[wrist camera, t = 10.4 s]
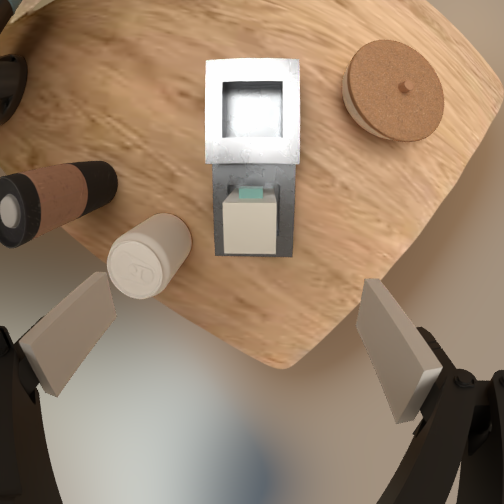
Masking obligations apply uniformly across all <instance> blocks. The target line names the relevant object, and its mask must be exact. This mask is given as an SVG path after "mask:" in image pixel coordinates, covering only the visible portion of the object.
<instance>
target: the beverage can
mask: <svg viewBox="0 0 504 504" xmlns="http://www.w3.org/2000/svg"><path fill="white" fill-rule="evenodd" d="M191 245H192V240H191V234H190V232H189V229H188V227H187V226H186V225H185V223H184V222H183V221H182V220H181V219H179V218H178V217H176V216H174V215H172V214H168V213H159V214H155V215H153V216H151V217H150V218H148V219H146V220H145V221H143V222H142V223H140V224H139V225H137V226H135V227H134V228H132V229H131V230H129V231H128V232H126V233H125V234H123V235H122V236H120V237H119V238H118V239H117V240H116V241H115V242H114V243H113V245H112V247H111V249H110V252H109V255H108V258H107V270H108V273H109V276H110V279H111V281H112V282H113V284H114V285H115V286H116V288H118V289H119V290H120V291H121V292H122V293H123V294H125V295H127V296H129V297H131V298H135V299H146V298H149V297H152V296H155V295H157V294H159V293H160V292H162V291H163V290H164V289H165V288H166V286H167V285H168V283H169V282H170V280H171V279H172V277H173V276H174V275H175V273H176V272H177V270H178V269H179V267H180V266H181V265H182V263H183V262H184V260H185V259H186V258H187V256H188V254H189V252H190V250H191Z"/></svg>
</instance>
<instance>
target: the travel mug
mask: <svg viewBox="0 0 504 504" xmlns="http://www.w3.org/2000/svg"><path fill="white" fill-rule="evenodd" d="M117 184H118V183H117V176H116V173H115V171H114V169H113V168H112V167H111V166H110V165H109V164H108V163H106V162H104V161H88V162H76V163H66V164H60V165H54V166H49V167H44V168H39V169H34V170H29V171H25V172H20V173H16V174H12V175H8V176H2V177H0V242H1V243H2V244H3V245H4V246H6V247H8V248H16V247H18V246H20V245H22V244H24V243H26V242H28V241H30V240H32V239H34V238H36V237H38V236H41V235H43V234H45V233H47V232H49V231H51V230H53V229H55V228H58V227H60V226H62V225H64V224H66V223H69V222H71V221H73V220H75V219H77V218H79V217H81V216H83V215H85V214H87V213H89V212H91V211H93V210H95V209H98V208H100V207H102V206H104V205H105V204H107V203H109V202H110V201H111V200H112V199H113V197H114V196H115V194H116V191H117Z"/></svg>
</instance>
